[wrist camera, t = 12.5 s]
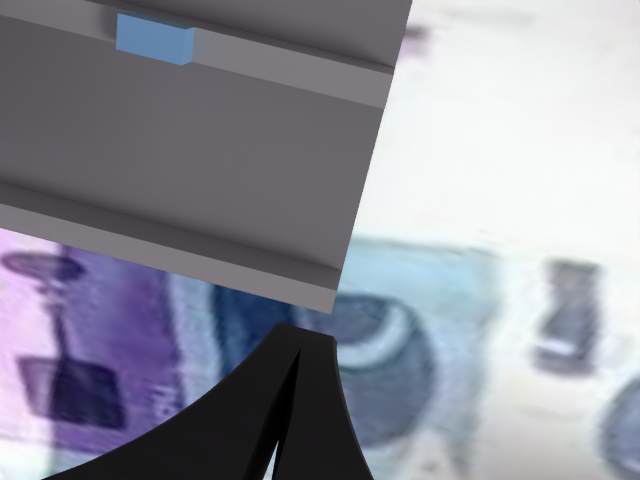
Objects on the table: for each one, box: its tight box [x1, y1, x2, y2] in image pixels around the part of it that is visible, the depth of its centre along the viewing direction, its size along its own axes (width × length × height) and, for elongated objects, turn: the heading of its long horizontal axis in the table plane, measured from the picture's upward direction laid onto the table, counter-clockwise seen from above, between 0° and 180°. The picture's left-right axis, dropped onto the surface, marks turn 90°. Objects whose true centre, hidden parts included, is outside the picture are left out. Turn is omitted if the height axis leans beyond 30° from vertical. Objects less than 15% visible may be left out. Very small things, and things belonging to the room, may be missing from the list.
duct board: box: [0, 0, 412, 314], centre depth 18 cm, size 14×16×3 cm
